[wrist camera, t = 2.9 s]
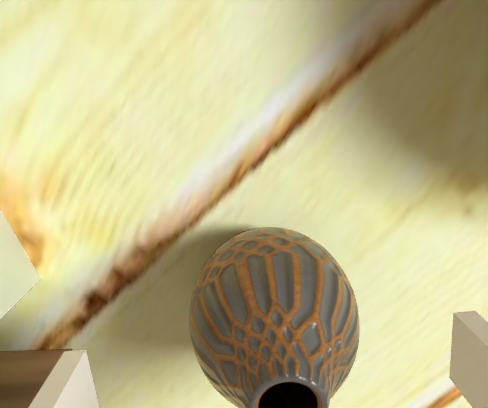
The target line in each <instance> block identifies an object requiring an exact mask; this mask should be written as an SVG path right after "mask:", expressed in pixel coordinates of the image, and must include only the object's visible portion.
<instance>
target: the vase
mask: <svg viewBox="0 0 488 408" xmlns="http://www.w3.org/2000/svg"><path fill="white" fill-rule="evenodd" d="M189 317H190V333H191V338H192V343H193V347H194V350H195V354H196V357H197V359H198V362H199V364H200V366H201V368H202V370H203V372H204V374H205V375H206V377H207V379H208V380H209V381H210V383H211V384H212V385H213V387H214V388H215V389H216V390H217V391H218V392H219V393H220V394H221V395H222V396H223V397H224V398H226V399H227V400H228V401H230V402H231V403H232V404H234V405H235V406H237V407H238V408H328V407H329V402H330V399H331V398H332V396H333V395H334V394H335V393H336V392H337V390H338V389H339V388H340V386H341V385H342V384H343V382H344V381H345V379H346V378H347V376H348V374H349V372H350V370H351V368H352V365H353V363H354V360H355V357H356V353H357V349H358V343H359V315H358V307H357V303H356V299H355V295H354V292H353V289H352V287H351V285H350V283H349V280H348V278H347V277H346V275H345V273H344V272H343V270H342V269H341V267H340V266H339V264H338V263H337V261H336V260H335V259H334V258H333V257H332V255H331V254H330V253H329V252H328V251H327V250H326V249H325V248H323V247H322V246H321V245H320V244H318V243H317V242H315V241H314V240H312V239H311V238H309V237H307V236H305V235H303V234H301V233H298V232H295V231H292V230H288V229H284V228H276V227H264V228H257V229H252V230H249V231H246V232H243V233H240V234H238V235H236V236H234V237H233V238H231V239H230V240H228V241H227V242H225V243H224V244H223V245H221V246H220V247H219V248H218V249H217V250H216V251H215V252H214V253H213V254H212V256H211V257H210V258H209V259H208V261H207V262H206V263H205V265H204V266H203V268H202V270H201V272H200V274H199V276H198V279H197V281H196V284H195V287H194V291H193V295H192V299H191V305H190V315H189Z"/></svg>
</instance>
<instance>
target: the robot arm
mask: <svg viewBox="0 0 488 408" xmlns="http://www.w3.org/2000/svg"><path fill="white" fill-rule="evenodd" d="M449 378H450V379H451V380H452V382H453V383H454V384H455V385H456V387H457V388H458V389H459V391H460V392H461V393H462V395H463V396H464V397H465V398H466V400H467V401H468V402H469V404H470V405H471V406H472V408H488V322H487V321H486V320H485V319H484V318H482V317H481V316H480V315H479V314H478V313H477V312H476V311H468V312H458V313H454V314H453V330H452V345H451V361H450V377H449ZM29 408H99V404H98V399H97V395H96V391H95V387H94V382H93V378H92V374H91V370H90V365H89V361H88V357H87V353H86V349H85V350H75V351H65V352H64V353H63V354H62V356H61V357H60V359H59V360H58V362H57V364H56V365H55V367H54V368H53V370H52V371H51V373H50V375H49V376H48V378H47V379H46V381H45V382H44V384H43V386H42V387H41V389H40V390H39V392H38V393H37V395H36V397H35V398H34V400H33V401H32V403H31V404H30V406H29Z"/></svg>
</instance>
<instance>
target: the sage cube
mask: <svg viewBox="0 0 488 408" xmlns="http://www.w3.org/2000/svg"><path fill="white" fill-rule="evenodd" d="M40 279H41V278H40V276H39V275H38V273H37V271H36V270H35V268H34V266H33V264H32V263H31V261H30V259H29V258H28V256H27V254H26V252H25V251H24V249H23V247H22V245H21V244H20V242H19V240H18V239H17V237H16V235H15V233H14V232H13V230H12V228H11V226H10V225H9V223H8V221H7V220H6V218H5V216H4V214H3V213H2V211H1V209H0V319H1V318H2V317H3V316H4V315H5V314H6V313H7V312H8V311H9V310H10V309H11V308H12V307H13V306H14V305H15V304H16V303H17V302H18V301H19V300H20V299H21V298H22V297H23V296H24V295H25V294H26V293H27V292H28V291H29V290H30V289H31V288H32V287H33V286H34V285H35V284H36V283H37V282H38V281H39V280H40Z"/></svg>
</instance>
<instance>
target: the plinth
mask: <svg viewBox="0 0 488 408" xmlns="http://www.w3.org/2000/svg"><path fill="white" fill-rule="evenodd" d="M65 351H72V349H56V350H24V351H0V408H29V406H30V404H31V403H32V401H33V400H34V398H35V397H36V395H37V393H38V392H39V390H40V389H41V387H42V386H43V384H44V382H45V381H46V379H47V378H48V376H49V375H50V373H51V371H52V370H53V368H54V367H55V365H56V364H57V362H58V360H59V359H60V357H61V356H62V354H63V353H64V352H65Z"/></svg>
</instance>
